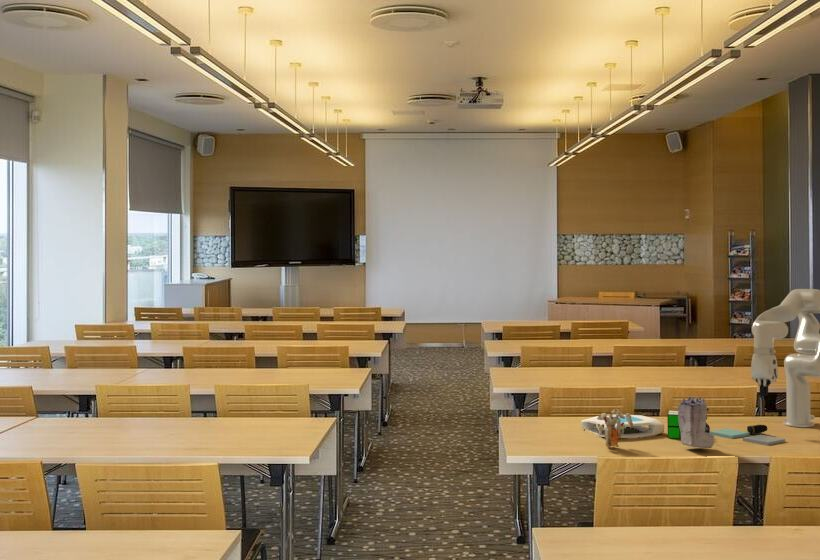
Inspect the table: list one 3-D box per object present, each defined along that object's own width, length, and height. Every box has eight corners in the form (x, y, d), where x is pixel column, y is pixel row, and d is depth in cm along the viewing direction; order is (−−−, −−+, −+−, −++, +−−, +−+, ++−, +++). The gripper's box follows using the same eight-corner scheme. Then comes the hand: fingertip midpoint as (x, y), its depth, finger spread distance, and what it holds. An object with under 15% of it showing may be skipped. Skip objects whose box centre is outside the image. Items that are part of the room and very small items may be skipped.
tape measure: (769, 432, 336) (767, 423, 337) (756, 434, 334) (754, 425, 334) (757, 433, 343) (755, 424, 343) (744, 435, 340) (742, 426, 341)
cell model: (718, 450, 308) (718, 398, 308) (692, 452, 306) (692, 399, 306) (700, 444, 320) (700, 393, 320) (675, 445, 319) (675, 394, 318)
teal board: (726, 431, 346) (726, 428, 346) (749, 435, 337) (749, 432, 337) (709, 434, 340) (709, 431, 340) (731, 438, 331) (731, 435, 331)
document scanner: (580, 431, 349) (580, 417, 349) (635, 427, 358) (635, 413, 358) (607, 440, 329) (607, 425, 329) (665, 435, 338) (665, 421, 338)
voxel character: (621, 444, 320) (620, 406, 320) (634, 449, 311) (634, 410, 311) (595, 446, 317) (595, 408, 317) (608, 451, 308) (607, 411, 308)
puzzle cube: (693, 435, 338) (693, 411, 338) (693, 439, 329) (693, 415, 329) (668, 433, 342) (668, 410, 342) (667, 438, 332) (667, 414, 332)
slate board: (760, 437, 333) (760, 434, 333) (785, 442, 324) (785, 439, 324) (742, 440, 326) (742, 437, 326) (767, 445, 317) (767, 442, 317)
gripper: (785, 352, 334) (785, 396, 334) (753, 349, 347) (753, 392, 347) (774, 353, 330) (775, 398, 330) (742, 350, 342) (742, 394, 343)
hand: (763, 395), depth 338 cm, fingers closed
